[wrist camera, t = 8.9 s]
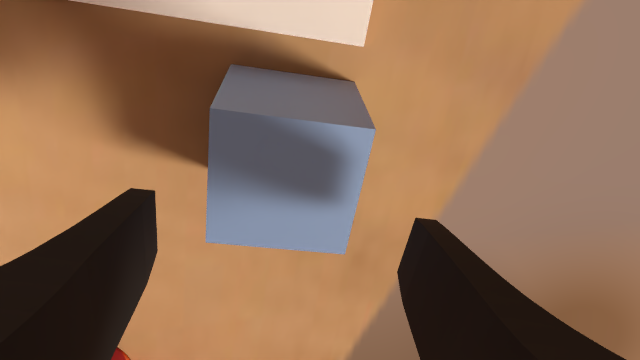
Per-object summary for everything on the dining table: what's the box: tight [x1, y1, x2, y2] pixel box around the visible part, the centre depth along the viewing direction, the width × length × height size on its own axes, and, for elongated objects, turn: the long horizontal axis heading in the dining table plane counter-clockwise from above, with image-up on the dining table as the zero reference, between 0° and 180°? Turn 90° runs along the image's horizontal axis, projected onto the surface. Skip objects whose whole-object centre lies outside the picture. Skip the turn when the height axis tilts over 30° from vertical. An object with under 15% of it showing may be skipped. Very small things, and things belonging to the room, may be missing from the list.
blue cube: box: [206, 64, 376, 254], centre depth 16 cm, size 5×5×5 cm
